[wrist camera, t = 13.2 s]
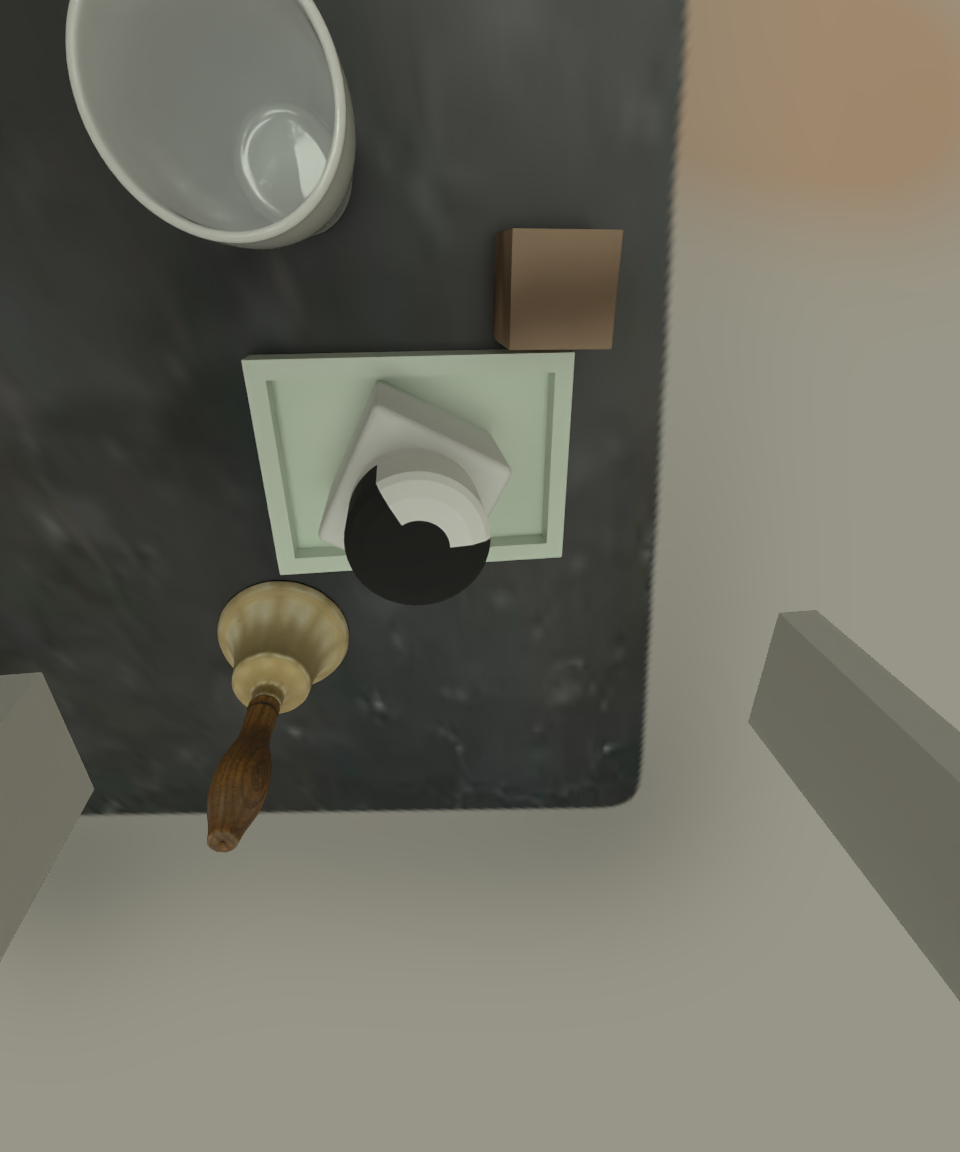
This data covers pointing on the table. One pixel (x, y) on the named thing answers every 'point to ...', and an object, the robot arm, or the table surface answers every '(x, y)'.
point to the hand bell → (267, 688)
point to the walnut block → (556, 288)
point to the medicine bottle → (414, 499)
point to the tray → (442, 378)
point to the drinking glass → (218, 113)
